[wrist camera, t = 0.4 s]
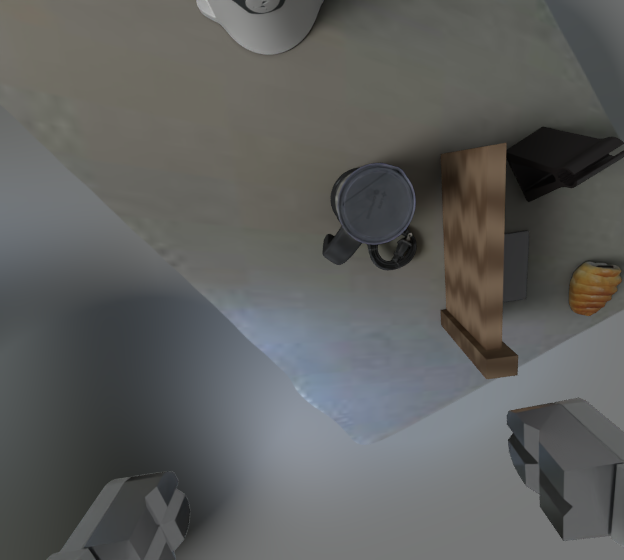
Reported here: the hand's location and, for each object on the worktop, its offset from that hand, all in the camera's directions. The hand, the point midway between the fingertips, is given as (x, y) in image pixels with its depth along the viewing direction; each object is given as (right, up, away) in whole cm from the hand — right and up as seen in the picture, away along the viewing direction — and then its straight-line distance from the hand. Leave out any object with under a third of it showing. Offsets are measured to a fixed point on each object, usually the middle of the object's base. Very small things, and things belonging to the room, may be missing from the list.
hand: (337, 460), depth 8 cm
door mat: (+30, +6, +46) cm, 56 cm away
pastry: (+47, +4, +47) cm, 67 cm away
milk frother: (+9, +15, +44) cm, 47 cm away
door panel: (+23, +10, +45) cm, 52 cm away
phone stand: (+33, +22, +41) cm, 57 cm away
